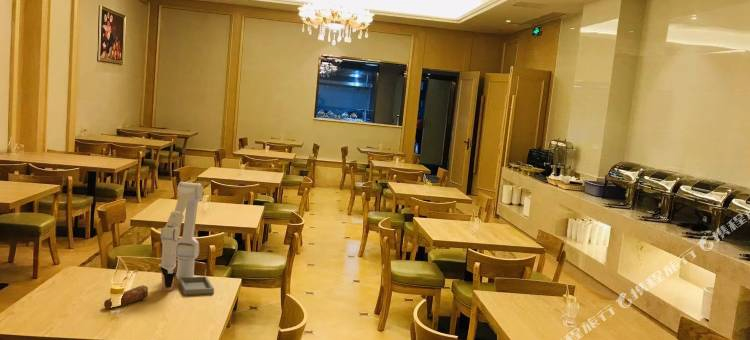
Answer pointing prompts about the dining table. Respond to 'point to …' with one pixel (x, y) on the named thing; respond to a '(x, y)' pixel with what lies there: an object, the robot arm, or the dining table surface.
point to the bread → (130, 296)
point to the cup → (165, 286)
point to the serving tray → (196, 285)
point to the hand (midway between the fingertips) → (167, 285)
